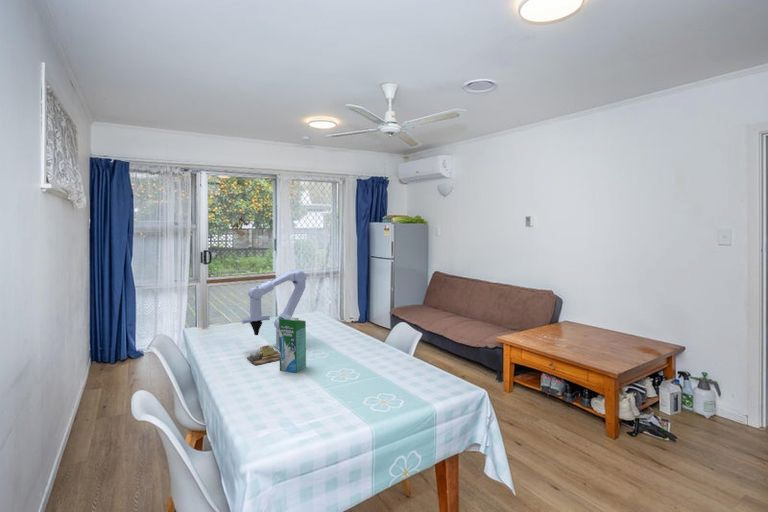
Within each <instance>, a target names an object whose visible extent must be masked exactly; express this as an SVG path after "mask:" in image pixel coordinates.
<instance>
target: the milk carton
mask: <svg viewBox="0 0 768 512" xmlns="http://www.w3.org/2000/svg"><path fill="white" fill-rule="evenodd" d="M299 318H300V317H293V316H292V317H290V319H279V349H278V350H279V351H278V352H279V353H280V361H279V371H281V372H288V373H295V374H297V373H298V372H300V371H301V370H303V369H304V368H306V367H307V341H306V340H307V339H306V338H307V334H306V332H307V331H306V326H307V325H306V321H307V320H300V319H299Z"/></svg>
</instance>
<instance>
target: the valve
mask: <svg viewBox="0 0 768 512" xmlns="http://www.w3.org/2000/svg"><path fill="white" fill-rule="evenodd" d="M275 351H276V350H275V349H274V346H272V345H270V344H269V345H268V344H267V345H264V346H260V347H259V352H260V357H261V358H262V357H267V356H272V355H274V354H275Z"/></svg>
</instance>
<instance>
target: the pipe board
mask: <svg viewBox="0 0 768 512" xmlns="http://www.w3.org/2000/svg"><path fill="white" fill-rule="evenodd" d="M249 354H250V355H249V356H247V357H246V359H247V361H249V362H250V363H251V364H253V365H254V366H255V367H256V366H261V365H266V364H270V363H274V362H280V352H279V351H278V350H275V354H274V355H272V356H267V357H262V358H261V357H260V350H257V351H255V352H252V353H251V352H250V353H249Z"/></svg>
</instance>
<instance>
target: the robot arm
mask: <svg viewBox="0 0 768 512" xmlns="http://www.w3.org/2000/svg"><path fill="white" fill-rule="evenodd" d="M307 279H308V276H306V273H305V272H304V271H302V270H298V269H291V270H288V271H287V272H285V273H283V274H282V275H280V276H279V277H277V278H275V279H273V280H264V281H263V282H262V283H260V284H257V285H256V287H255V286H253V287H251V288H250V289H249V290H248V292H247V295H248V296H249V312H250V313H249V316H250V317H248V318H247V317H246V318H244V319H241V324H242V325H245V324H249V323H250V326H251V328H252V330H253V334H254V335H255V336H259V332H260V329H261V327H262V325H263V321H270V320H271V317H270V316H269V315H263V314H262V298H263V297H264V295H266V294H267V293H270V292H272V291H273V290H274V289H275V287H276V286H279V285H281V284H284V283H286V282H288V281H290V282H292V283H293V285H294V289H293V291H292V292H291V293H292V294H291V295H290V297H289V299H288V301H287V304H286V305H285V308H284V310H283V312H282V313H280V314H279V315H278V317H277V318H276V319H275V321H274V322H273V325H274V327H275V328H276V329H275V340H276V341H275V344H273V347H275V348H277V349H278V350H279V319H290V317H293V315H294V313H295V311H296V309H297V306H298V304H299V303H300V300H301V298H302V296H303V294H304V292H305V290H306V280H307Z"/></svg>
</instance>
